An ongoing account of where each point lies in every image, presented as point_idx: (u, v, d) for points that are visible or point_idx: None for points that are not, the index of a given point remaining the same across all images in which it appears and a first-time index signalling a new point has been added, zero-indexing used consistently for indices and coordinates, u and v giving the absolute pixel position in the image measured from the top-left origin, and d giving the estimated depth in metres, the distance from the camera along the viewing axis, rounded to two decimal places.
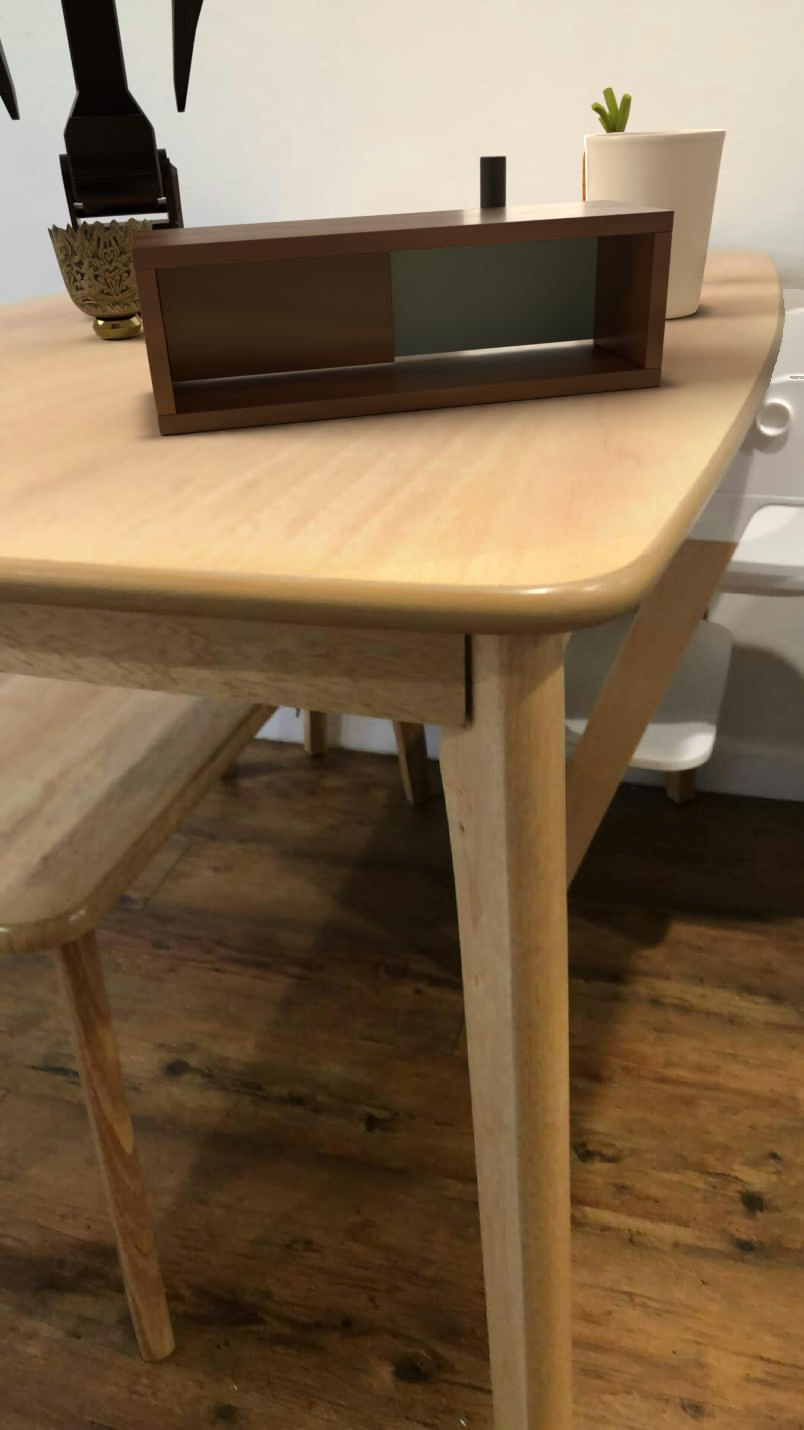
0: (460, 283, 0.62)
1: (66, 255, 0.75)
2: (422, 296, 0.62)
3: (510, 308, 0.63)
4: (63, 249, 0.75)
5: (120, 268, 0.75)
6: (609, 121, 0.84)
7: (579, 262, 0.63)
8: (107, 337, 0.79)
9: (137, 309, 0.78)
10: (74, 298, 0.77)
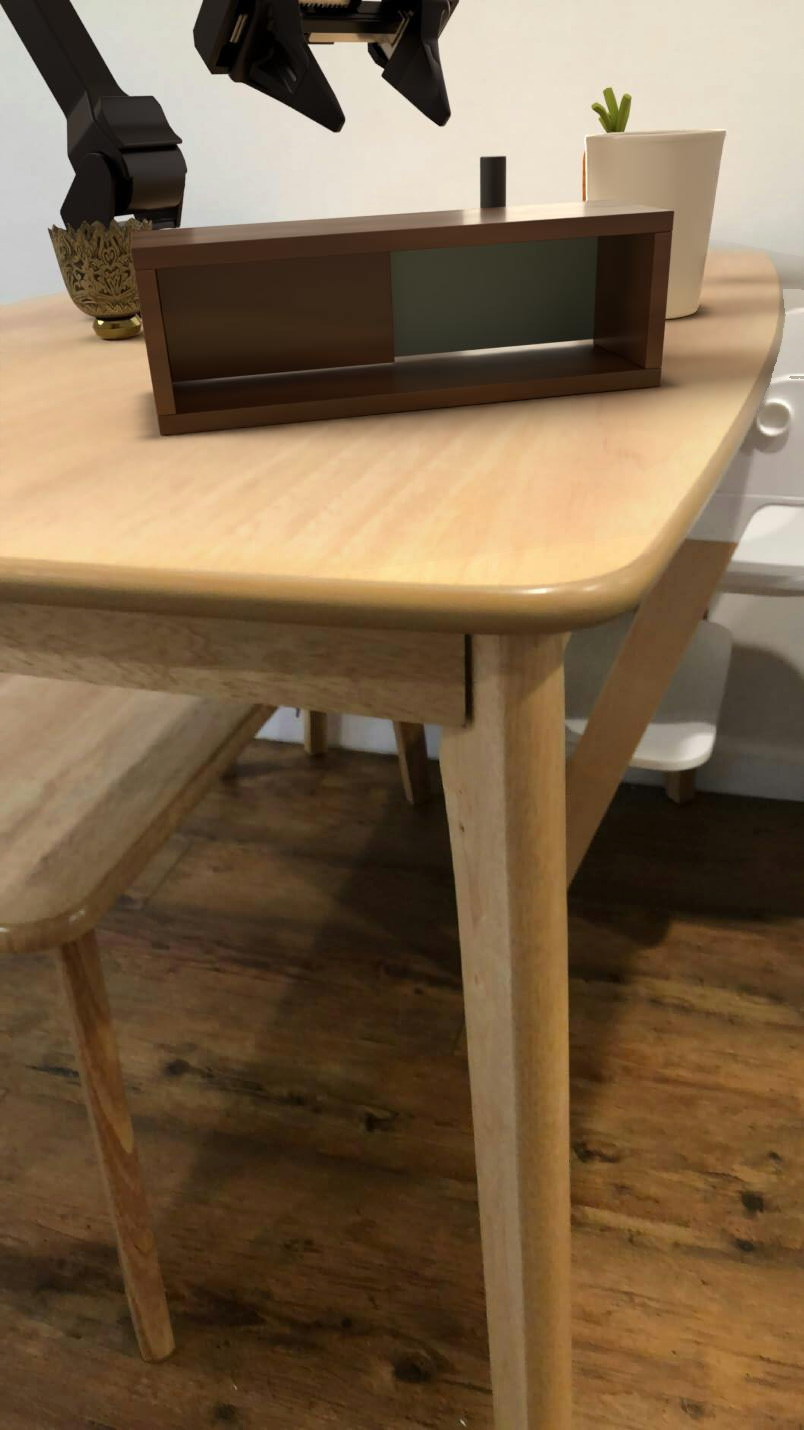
0: (460, 283, 0.62)
1: (66, 255, 0.75)
2: (422, 296, 0.62)
3: (510, 308, 0.63)
4: (63, 249, 0.75)
5: (120, 268, 0.75)
6: (609, 121, 0.84)
7: (579, 262, 0.63)
8: (107, 337, 0.79)
9: (137, 309, 0.78)
10: (74, 298, 0.77)
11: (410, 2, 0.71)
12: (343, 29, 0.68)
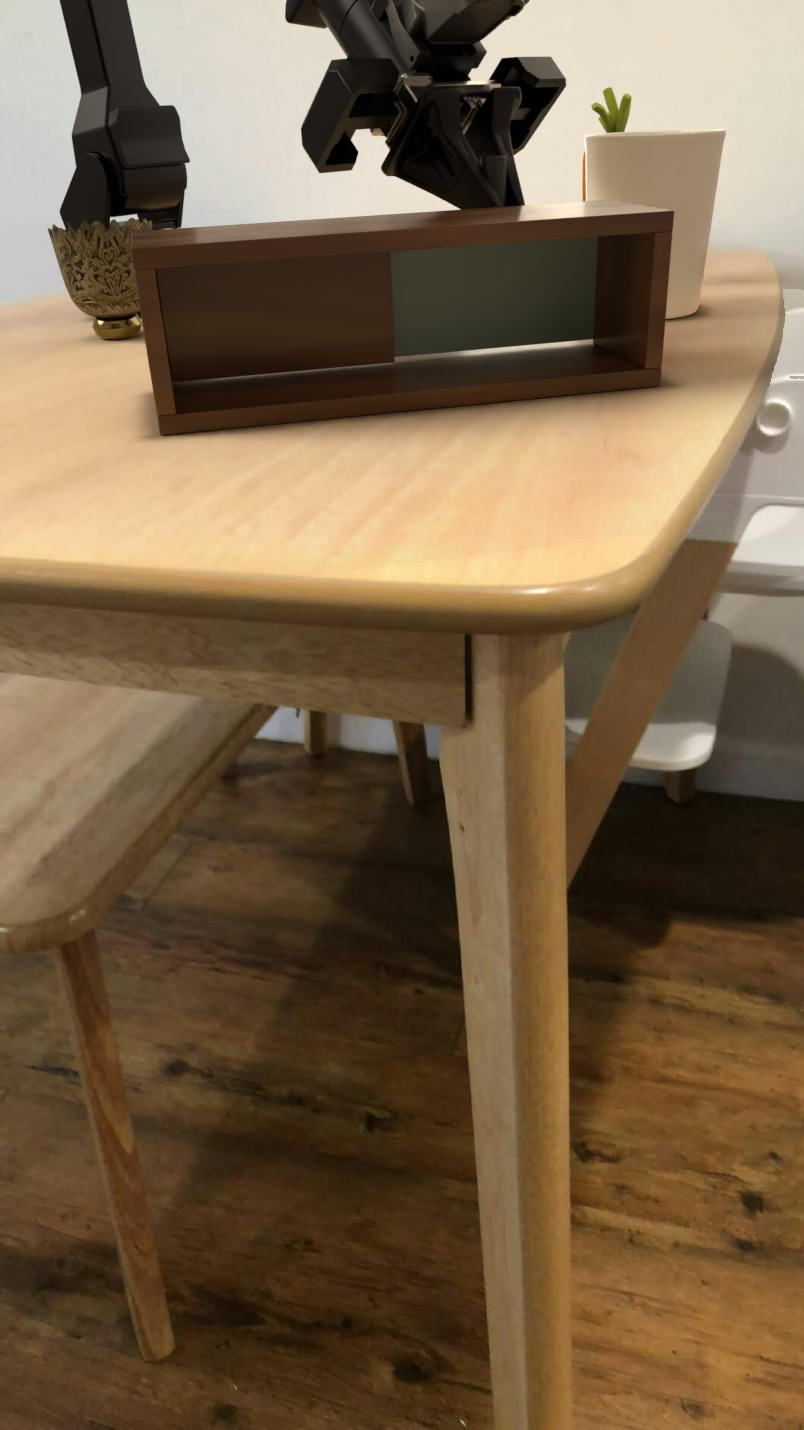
0: (460, 283, 0.62)
1: (66, 255, 0.75)
2: (422, 296, 0.62)
3: (510, 308, 0.63)
4: (63, 249, 0.75)
5: (120, 268, 0.75)
6: (609, 121, 0.84)
7: (579, 262, 0.63)
8: (107, 337, 0.79)
9: (137, 309, 0.78)
10: (74, 298, 0.77)
11: None
12: None
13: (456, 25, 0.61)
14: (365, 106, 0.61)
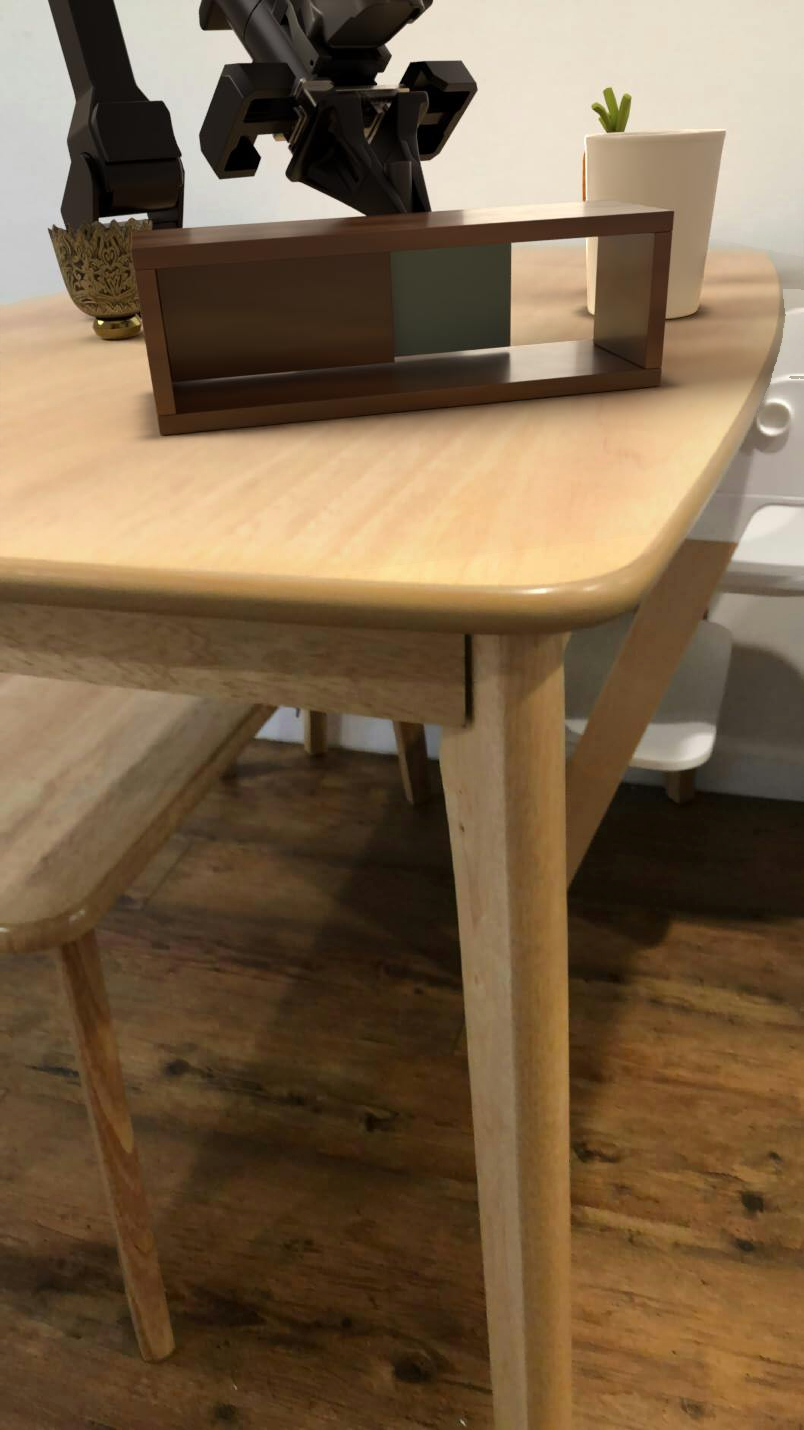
0: None
1: (66, 255, 0.75)
2: None
3: (415, 316, 0.62)
4: (63, 249, 0.75)
5: (120, 268, 0.75)
6: (609, 121, 0.84)
7: (484, 270, 0.62)
8: (107, 337, 0.79)
9: (137, 309, 0.78)
10: (74, 298, 0.77)
11: (426, 92, 0.67)
12: None
13: (355, 29, 0.60)
14: (263, 111, 0.60)
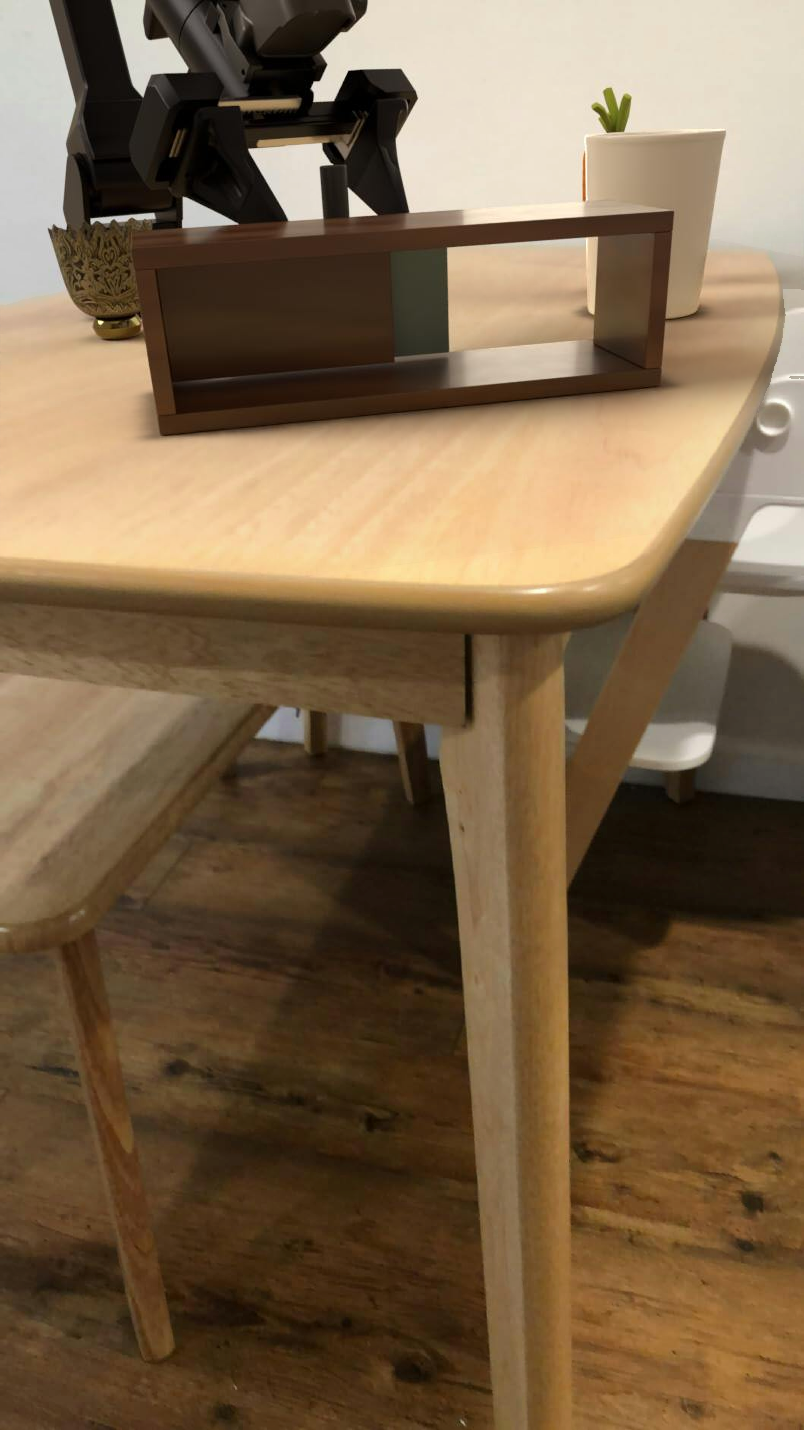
0: None
1: (66, 255, 0.75)
2: None
3: None
4: (63, 249, 0.75)
5: (120, 268, 0.75)
6: (609, 121, 0.84)
7: (420, 274, 0.61)
8: (107, 337, 0.79)
9: (137, 309, 0.78)
10: (74, 298, 0.77)
11: (366, 100, 0.67)
12: (293, 134, 0.64)
13: (286, 38, 0.59)
14: None
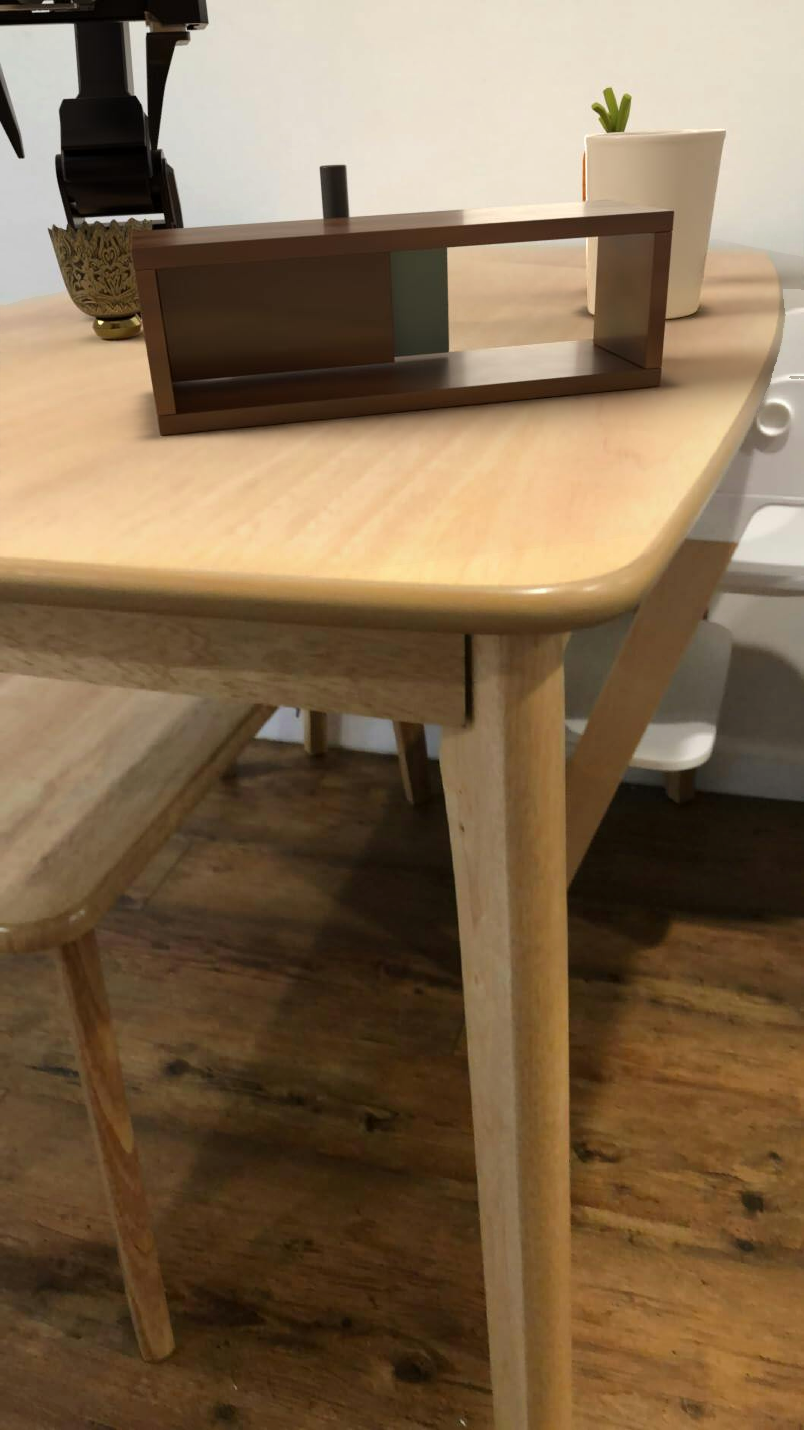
0: None
1: (66, 255, 0.75)
2: None
3: None
4: (63, 249, 0.75)
5: (120, 268, 0.75)
6: (609, 121, 0.84)
7: (420, 274, 0.61)
8: (107, 337, 0.79)
9: (137, 309, 0.78)
10: (74, 298, 0.77)
11: None
12: (77, 23, 0.71)
13: None
14: None
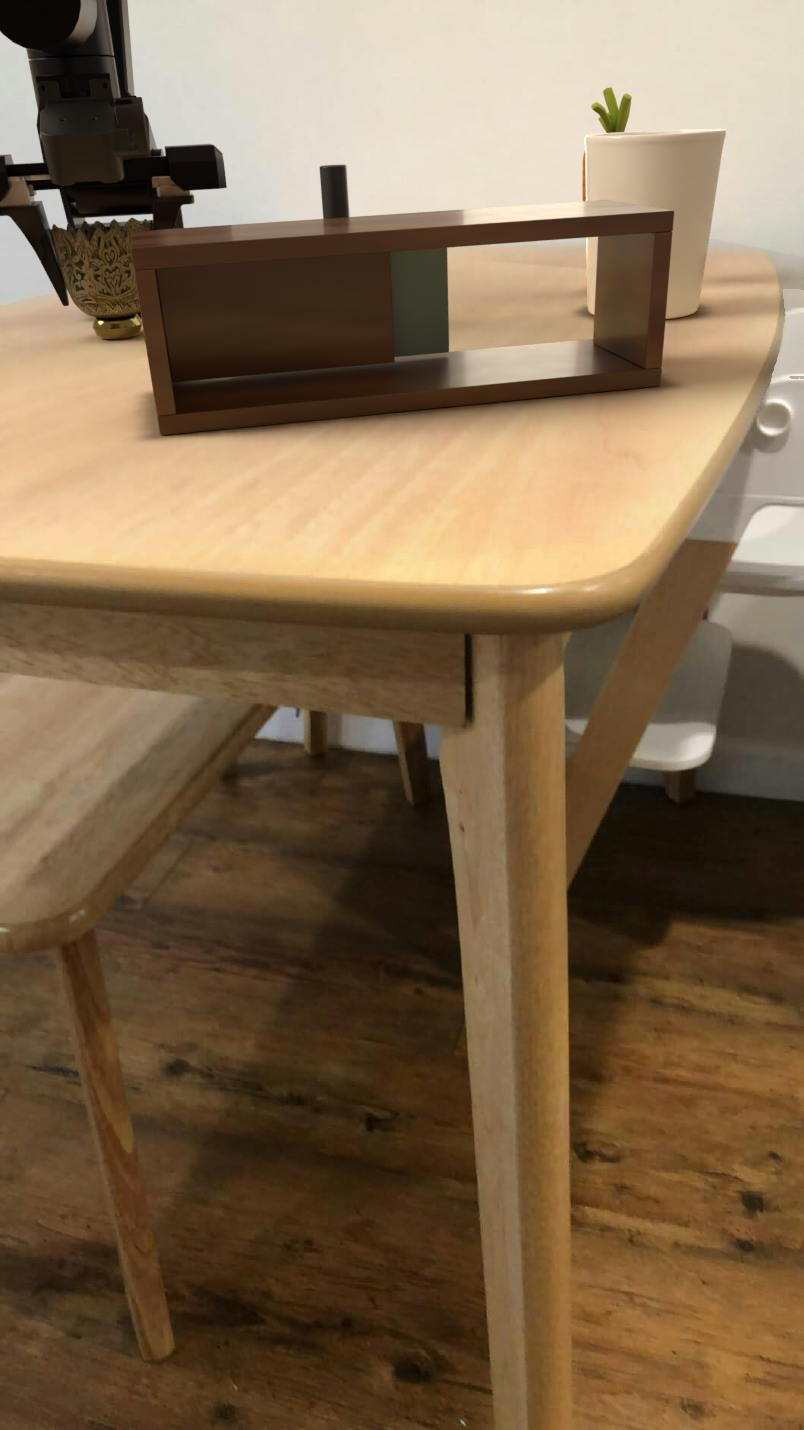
0: None
1: (66, 255, 0.75)
2: None
3: None
4: (63, 249, 0.75)
5: (120, 268, 0.75)
6: (609, 121, 0.84)
7: (420, 274, 0.61)
8: (107, 337, 0.79)
9: (137, 309, 0.78)
10: (74, 298, 0.77)
11: None
12: None
13: None
14: None
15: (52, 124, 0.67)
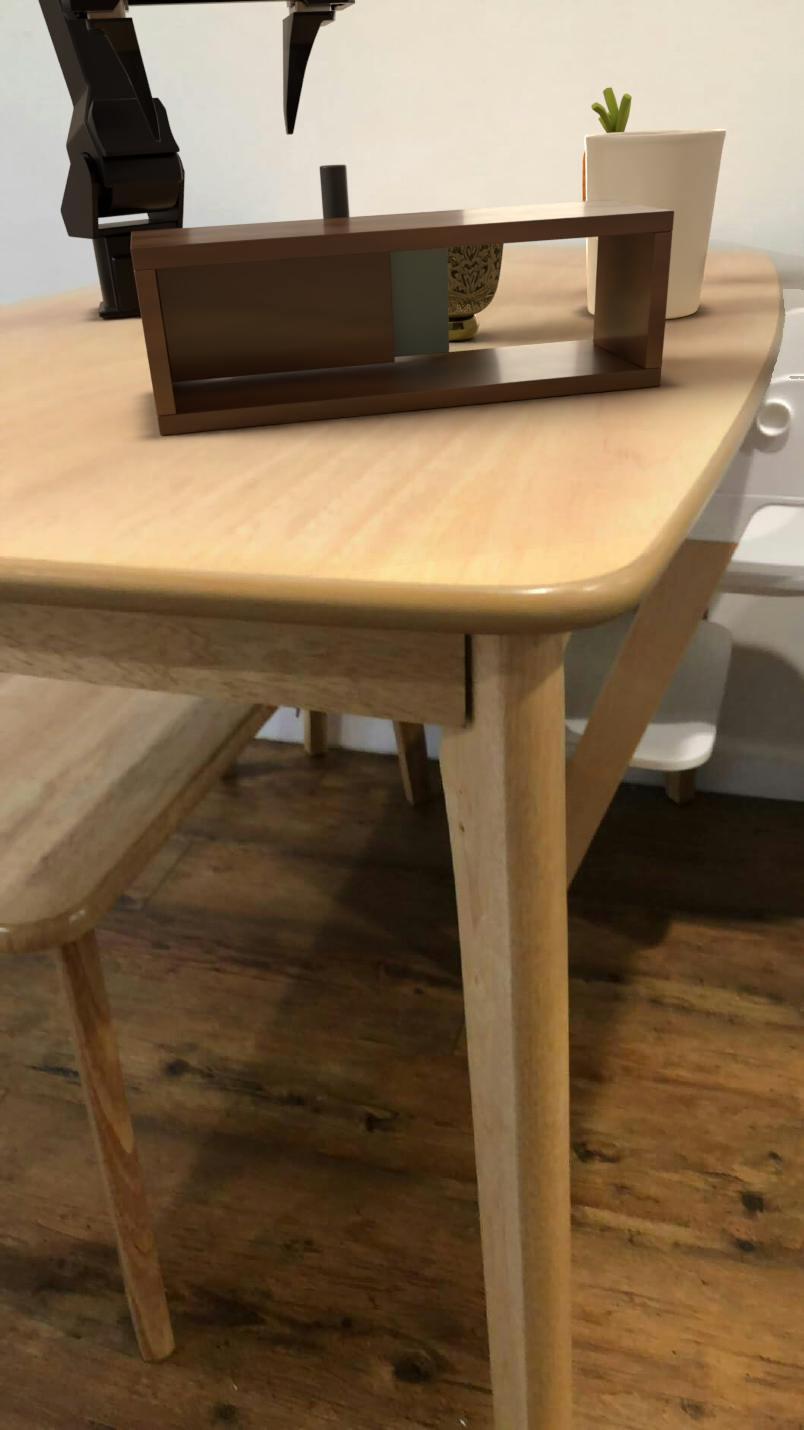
0: None
1: None
2: None
3: None
4: None
5: (479, 263, 0.69)
6: (609, 121, 0.84)
7: (420, 274, 0.61)
8: None
9: (483, 308, 0.72)
10: None
11: None
12: (220, 2, 0.69)
13: None
14: None
15: None
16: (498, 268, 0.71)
